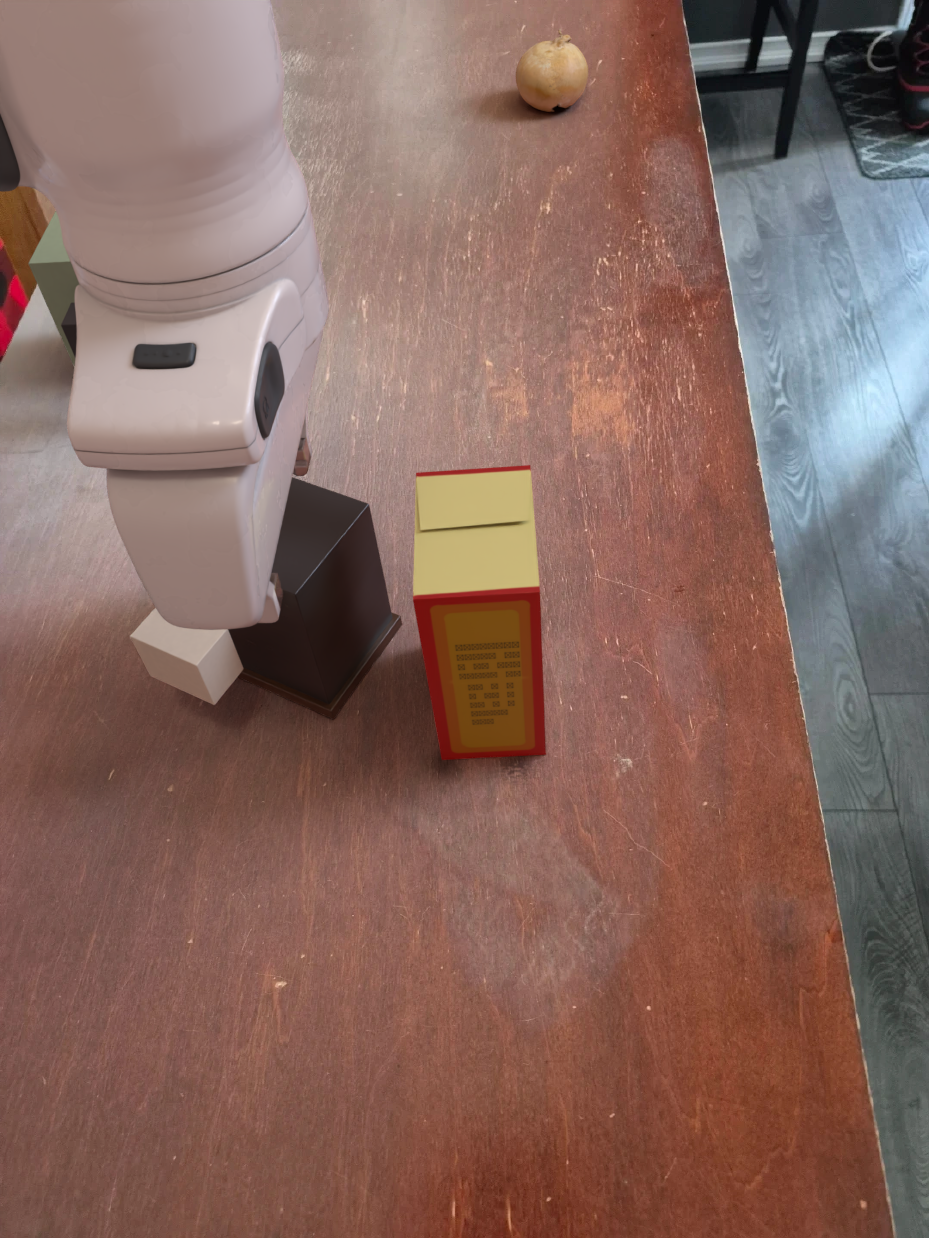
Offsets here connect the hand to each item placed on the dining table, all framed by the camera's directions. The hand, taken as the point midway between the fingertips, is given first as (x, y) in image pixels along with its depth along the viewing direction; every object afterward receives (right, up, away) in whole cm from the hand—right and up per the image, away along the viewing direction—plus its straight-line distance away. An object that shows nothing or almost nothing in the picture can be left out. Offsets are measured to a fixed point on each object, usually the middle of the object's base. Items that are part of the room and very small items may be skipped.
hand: (280, 534), depth 51 cm
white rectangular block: (-7, -7, +14) cm, 17 cm away
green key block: (-19, +20, +45) cm, 53 cm away
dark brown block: (-20, +17, +35) cm, 44 cm away
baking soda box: (+11, -9, +19) cm, 23 cm away
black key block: (-3, -5, +23) cm, 24 cm away
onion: (+19, +54, +69) cm, 90 cm away
